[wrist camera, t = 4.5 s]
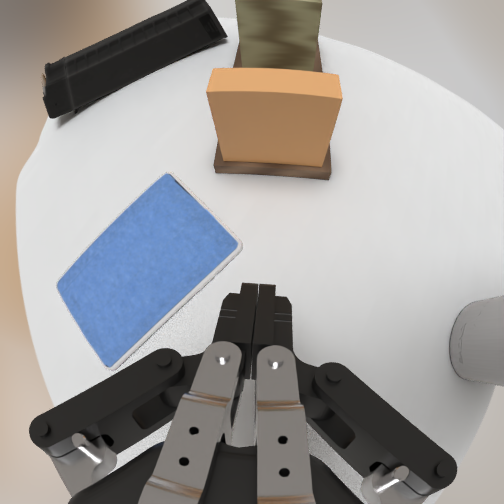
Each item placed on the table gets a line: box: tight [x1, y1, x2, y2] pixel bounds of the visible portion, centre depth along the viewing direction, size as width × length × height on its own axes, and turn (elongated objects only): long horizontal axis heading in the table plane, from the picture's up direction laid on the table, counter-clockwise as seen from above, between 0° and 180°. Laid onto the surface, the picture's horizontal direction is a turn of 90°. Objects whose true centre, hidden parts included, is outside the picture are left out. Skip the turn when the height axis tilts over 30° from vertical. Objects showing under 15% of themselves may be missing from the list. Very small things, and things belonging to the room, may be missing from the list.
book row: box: [214, 0, 331, 180], centre depth 26 cm, size 12×26×14 cm, turn 175°
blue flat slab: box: [56, 172, 243, 371], centre depth 27 cm, size 19×13×1 cm, turn 134°
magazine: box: [41, 0, 227, 118], centre depth 30 cm, size 17×3×30 cm
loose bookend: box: [206, 68, 343, 167], centre depth 23 cm, size 10×3×10 cm, turn 85°
